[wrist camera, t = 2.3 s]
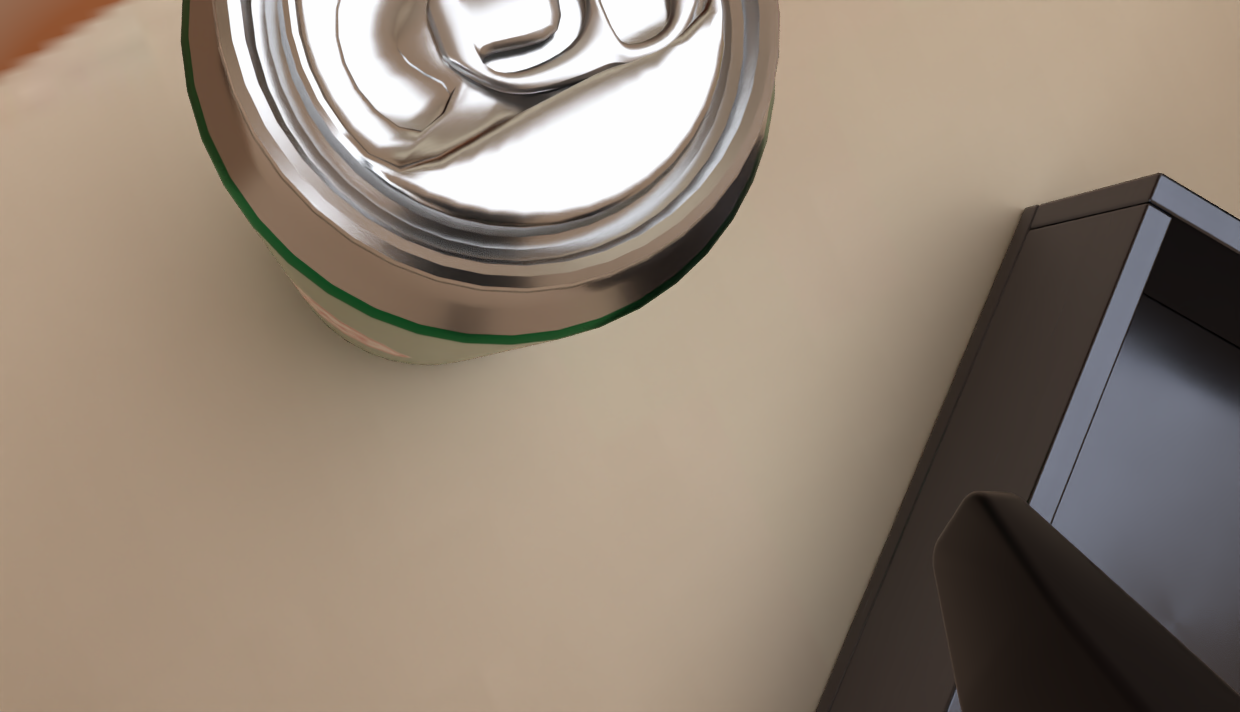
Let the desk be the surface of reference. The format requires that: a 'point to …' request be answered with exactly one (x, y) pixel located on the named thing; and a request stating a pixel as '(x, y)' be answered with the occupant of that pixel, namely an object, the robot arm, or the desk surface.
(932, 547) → the black tray
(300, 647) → the desk surface
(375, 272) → the soda can
